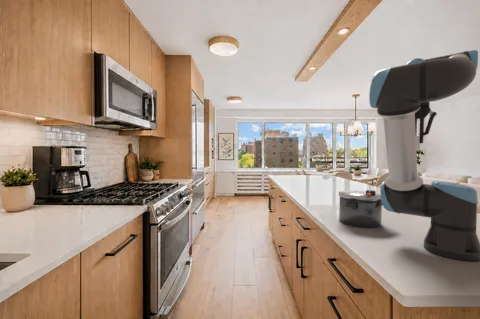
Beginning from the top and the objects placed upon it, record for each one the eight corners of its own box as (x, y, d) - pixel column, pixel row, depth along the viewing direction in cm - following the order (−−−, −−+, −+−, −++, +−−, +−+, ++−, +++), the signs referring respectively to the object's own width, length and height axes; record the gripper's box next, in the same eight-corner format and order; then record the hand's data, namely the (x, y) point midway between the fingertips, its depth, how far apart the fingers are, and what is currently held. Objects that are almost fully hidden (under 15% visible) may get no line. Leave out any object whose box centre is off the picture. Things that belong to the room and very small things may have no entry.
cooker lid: (376, 202, 103) (376, 194, 102) (332, 196, 116) (332, 189, 116) (388, 197, 116) (388, 190, 116) (347, 192, 129) (347, 185, 129)
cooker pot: (377, 233, 100) (378, 204, 100) (330, 223, 114) (330, 197, 114) (391, 222, 117) (392, 197, 117) (349, 214, 131) (350, 192, 131)
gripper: (438, 97, 108) (436, 150, 108) (403, 101, 117) (402, 150, 117) (436, 94, 102) (434, 150, 103) (400, 98, 111) (398, 150, 112)
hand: (417, 150), depth 110 cm, fingers closed
